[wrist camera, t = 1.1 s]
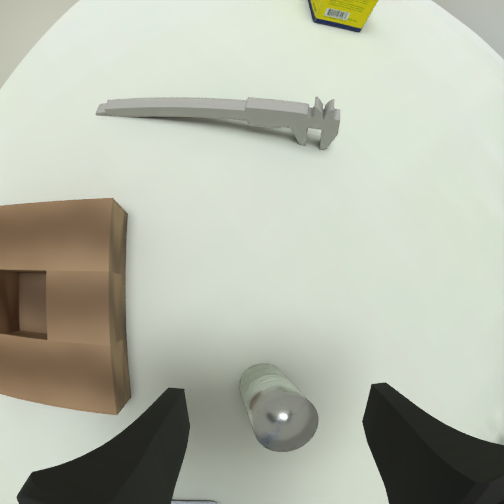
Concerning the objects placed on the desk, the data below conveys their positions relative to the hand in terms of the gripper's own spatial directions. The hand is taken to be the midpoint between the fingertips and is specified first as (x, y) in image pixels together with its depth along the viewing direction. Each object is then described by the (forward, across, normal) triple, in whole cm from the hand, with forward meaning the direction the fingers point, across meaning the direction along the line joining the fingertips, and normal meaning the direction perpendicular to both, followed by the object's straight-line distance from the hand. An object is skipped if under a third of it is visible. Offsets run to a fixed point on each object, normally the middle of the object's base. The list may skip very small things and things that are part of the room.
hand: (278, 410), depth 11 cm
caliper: (+18, +5, -13) cm, 22 cm away
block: (+10, +17, 0) cm, 20 cm away
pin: (+10, 0, +6) cm, 12 cm away
